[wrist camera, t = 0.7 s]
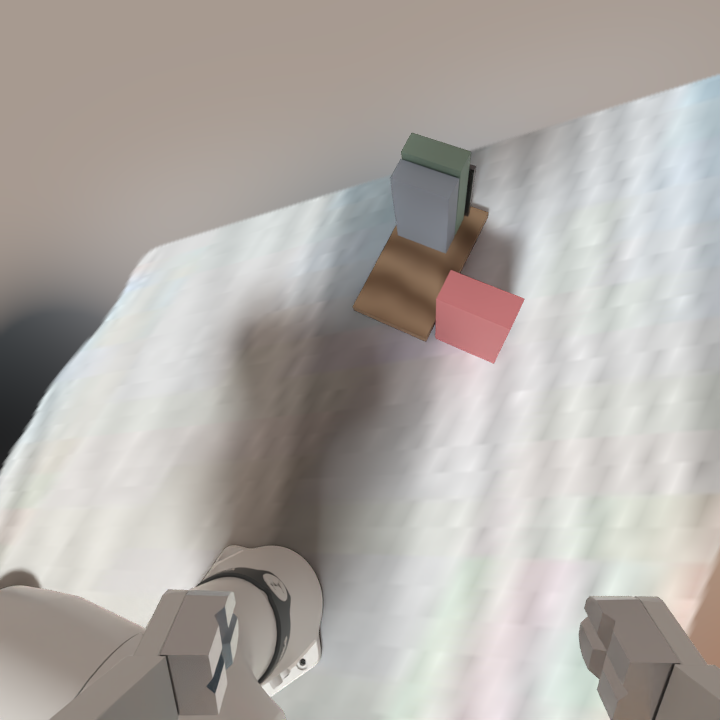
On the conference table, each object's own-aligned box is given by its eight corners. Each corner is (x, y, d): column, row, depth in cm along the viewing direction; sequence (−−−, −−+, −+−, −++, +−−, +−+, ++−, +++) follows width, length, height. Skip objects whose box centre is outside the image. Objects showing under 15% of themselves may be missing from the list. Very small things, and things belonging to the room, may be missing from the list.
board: (425, 341, 69) (425, 338, 68) (354, 310, 72) (352, 306, 71) (487, 217, 73) (488, 212, 71) (416, 192, 76) (416, 187, 74)
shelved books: (445, 253, 71) (449, 193, 56) (397, 235, 73) (389, 172, 58) (463, 218, 72) (471, 151, 57) (415, 201, 74) (411, 132, 59)
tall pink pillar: (493, 363, 67) (510, 329, 53) (435, 338, 69) (436, 298, 55) (505, 339, 68) (524, 298, 53) (446, 314, 70) (450, 269, 56)
